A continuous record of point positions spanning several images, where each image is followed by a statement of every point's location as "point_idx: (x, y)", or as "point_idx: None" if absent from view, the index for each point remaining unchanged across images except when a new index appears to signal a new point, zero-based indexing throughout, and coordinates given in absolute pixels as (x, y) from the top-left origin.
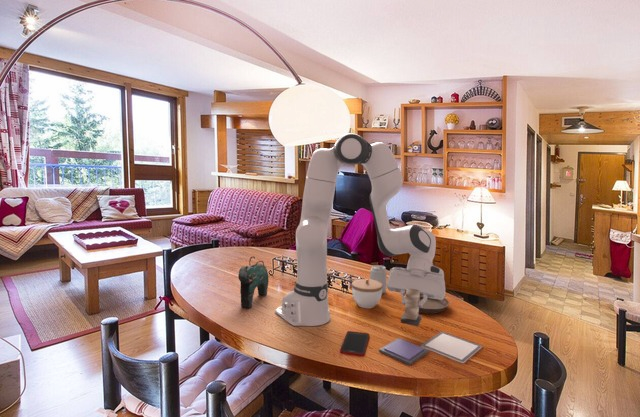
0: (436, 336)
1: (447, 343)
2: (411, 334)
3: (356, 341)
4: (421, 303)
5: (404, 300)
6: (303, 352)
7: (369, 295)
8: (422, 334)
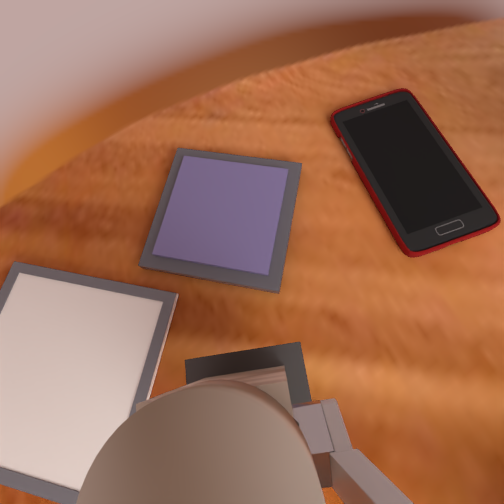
0: None
1: (74, 382)
2: None
3: (408, 169)
4: None
5: (315, 422)
6: (494, 35)
7: None
8: None
